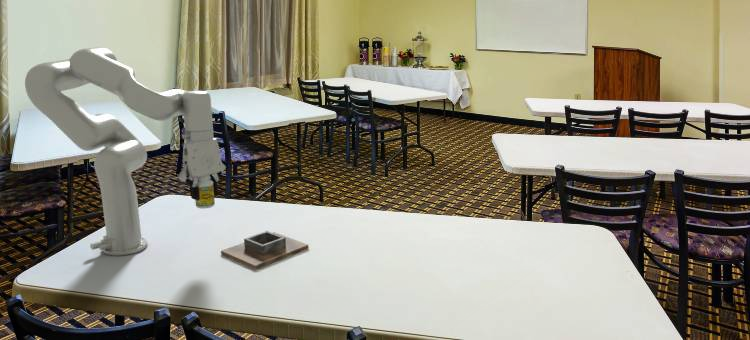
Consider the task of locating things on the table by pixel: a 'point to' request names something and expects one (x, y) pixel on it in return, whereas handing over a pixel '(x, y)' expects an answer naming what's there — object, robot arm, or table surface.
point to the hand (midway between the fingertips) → (204, 196)
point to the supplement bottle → (205, 192)
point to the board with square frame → (264, 249)
